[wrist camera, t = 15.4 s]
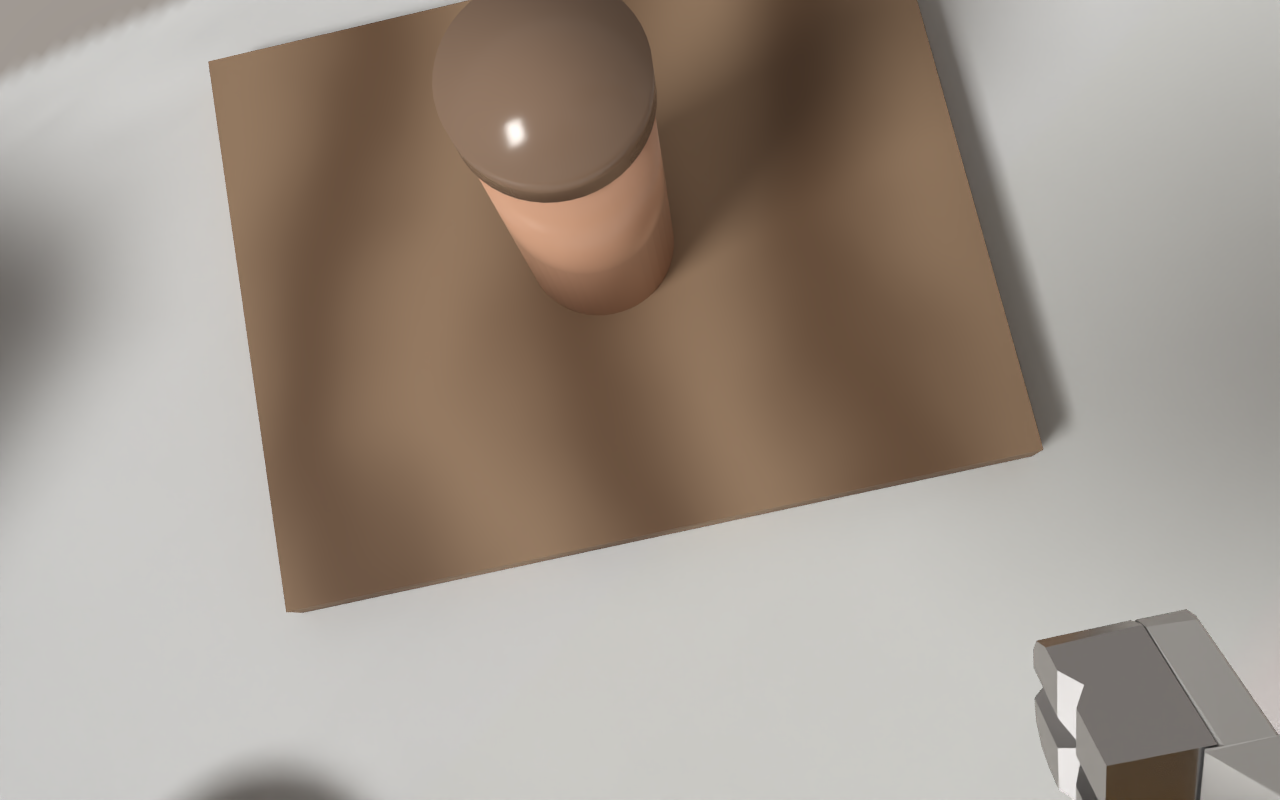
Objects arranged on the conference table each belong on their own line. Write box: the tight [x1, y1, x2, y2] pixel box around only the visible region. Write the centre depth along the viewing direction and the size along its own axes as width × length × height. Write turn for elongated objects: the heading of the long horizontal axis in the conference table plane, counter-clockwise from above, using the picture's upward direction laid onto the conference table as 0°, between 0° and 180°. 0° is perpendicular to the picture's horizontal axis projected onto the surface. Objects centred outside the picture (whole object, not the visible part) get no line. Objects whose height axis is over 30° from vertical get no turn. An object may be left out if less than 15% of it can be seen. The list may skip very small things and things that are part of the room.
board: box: [209, 0, 1043, 613], centre depth 32 cm, size 20×16×1 cm
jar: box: [432, 0, 674, 315], centre depth 27 cm, size 4×4×10 cm
